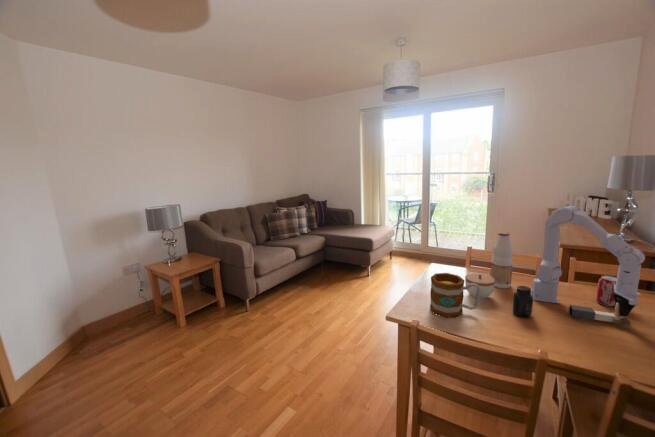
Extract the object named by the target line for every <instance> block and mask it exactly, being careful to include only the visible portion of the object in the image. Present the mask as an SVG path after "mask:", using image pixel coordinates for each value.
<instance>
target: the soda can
mask: <svg viewBox="0 0 655 437" xmlns="http://www.w3.org/2000/svg"><path fill="white" fill-rule="evenodd" d="M616 281H617V276H616V277H615V276H611V275H601V277H600V278H599V279H598V283H597V288H596V294H595V301H597V302H598V303H599V305H603V306H607V307H615V301H614V298H613V296H612V293H615V292H614V284H616Z"/></svg>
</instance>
